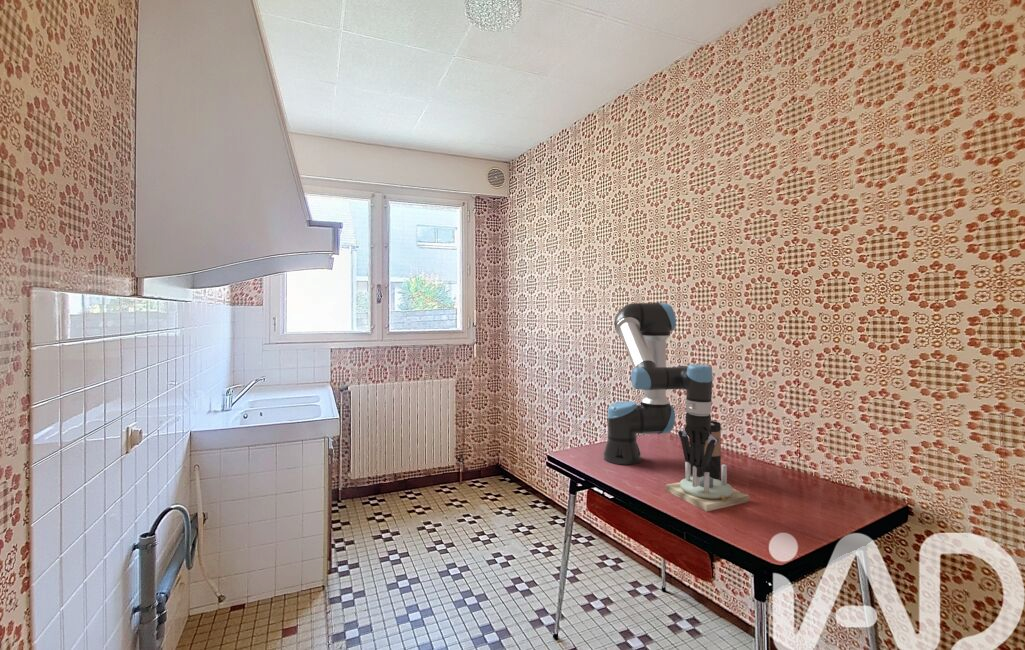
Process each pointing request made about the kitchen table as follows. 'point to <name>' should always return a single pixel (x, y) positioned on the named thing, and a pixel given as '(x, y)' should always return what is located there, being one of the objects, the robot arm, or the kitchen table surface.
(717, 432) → the travel mug
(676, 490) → the stand base
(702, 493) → the green peg holder
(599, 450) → the kitchen table surface
